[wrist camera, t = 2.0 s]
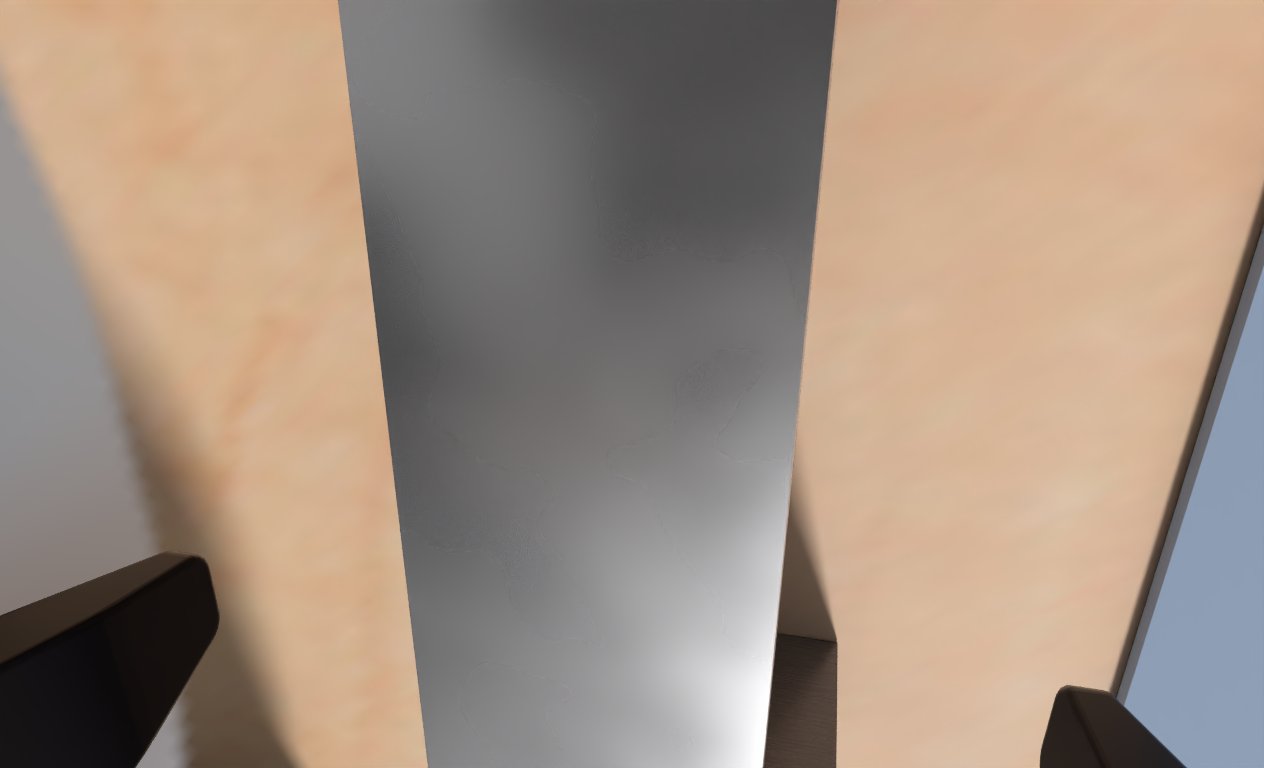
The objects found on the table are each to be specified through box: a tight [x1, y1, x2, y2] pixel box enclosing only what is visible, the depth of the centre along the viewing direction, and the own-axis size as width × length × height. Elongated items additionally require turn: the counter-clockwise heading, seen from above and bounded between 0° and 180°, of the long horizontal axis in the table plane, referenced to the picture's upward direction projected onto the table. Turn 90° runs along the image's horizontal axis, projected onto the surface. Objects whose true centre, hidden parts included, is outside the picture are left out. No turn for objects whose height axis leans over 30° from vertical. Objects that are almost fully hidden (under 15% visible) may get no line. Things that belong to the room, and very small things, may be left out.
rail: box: [338, 0, 839, 768], centre depth 10 cm, size 4×20×4 cm, turn 0°
